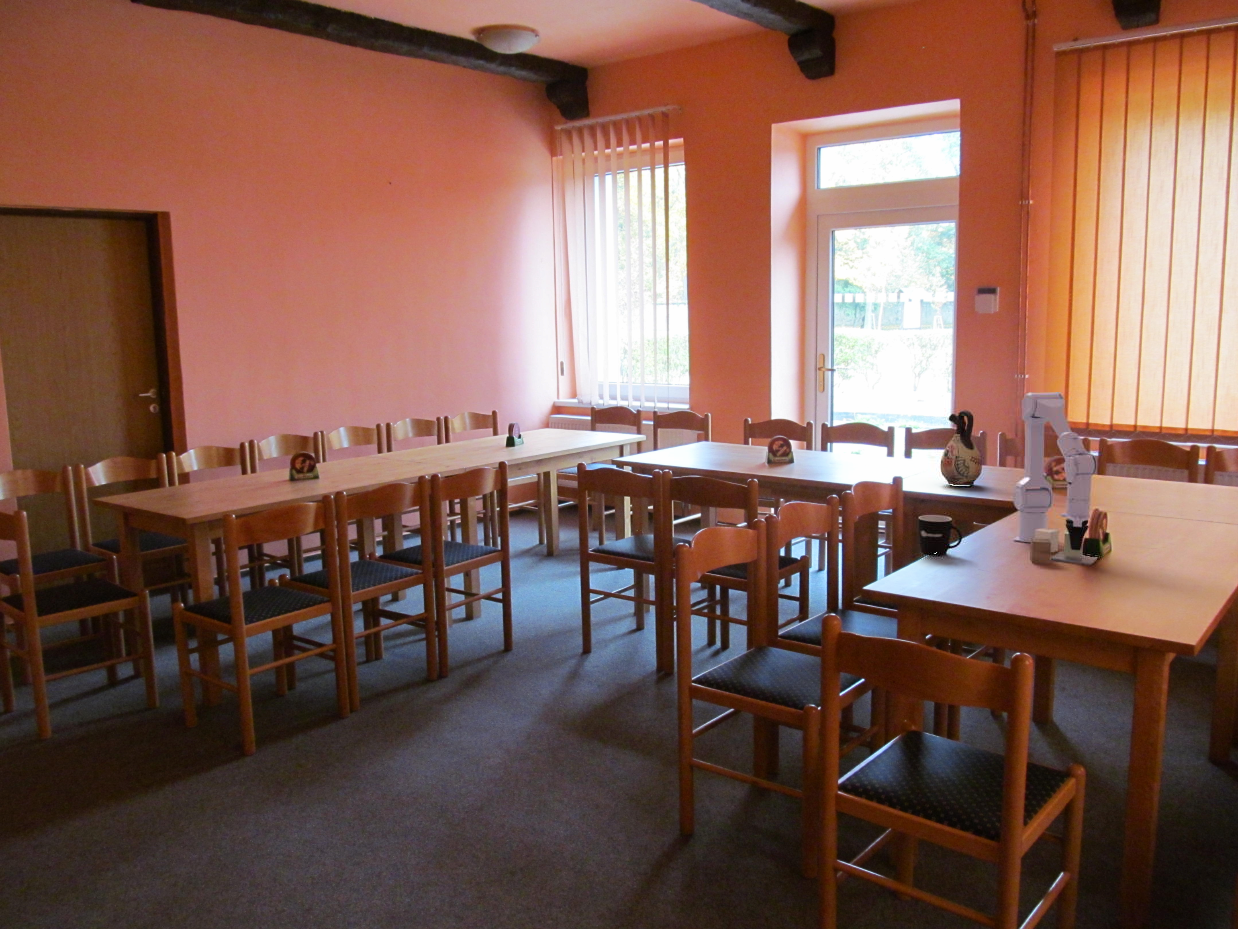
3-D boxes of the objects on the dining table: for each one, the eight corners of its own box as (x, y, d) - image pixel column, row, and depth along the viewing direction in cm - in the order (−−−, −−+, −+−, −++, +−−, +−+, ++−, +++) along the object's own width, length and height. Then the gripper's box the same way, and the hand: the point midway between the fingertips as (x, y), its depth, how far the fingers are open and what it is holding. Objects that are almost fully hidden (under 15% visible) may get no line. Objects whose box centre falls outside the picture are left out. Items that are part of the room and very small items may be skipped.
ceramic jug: (931, 483, 390) (934, 408, 385) (964, 481, 394) (967, 407, 390) (958, 490, 374) (961, 412, 369) (992, 488, 378) (995, 410, 374)
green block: (1064, 551, 271) (1064, 530, 270) (1082, 552, 269) (1082, 531, 268) (1064, 555, 267) (1064, 533, 266) (1082, 556, 265) (1083, 534, 264)
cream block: (1042, 548, 281) (1043, 527, 280) (1057, 551, 278) (1058, 530, 277) (1034, 550, 278) (1035, 529, 278) (1049, 553, 275) (1050, 532, 274)
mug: (912, 554, 275) (914, 519, 274) (922, 548, 282) (923, 513, 281) (956, 560, 268) (958, 523, 267) (965, 553, 276) (966, 518, 274)
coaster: (1060, 553, 275) (1060, 551, 275) (1099, 558, 269) (1099, 556, 269) (1050, 560, 267) (1050, 558, 267) (1090, 565, 261) (1090, 563, 261)
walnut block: (1030, 559, 269) (1031, 537, 268) (1047, 560, 267) (1049, 538, 266) (1031, 563, 264) (1032, 541, 264) (1049, 564, 263) (1051, 542, 262)
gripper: (1062, 493, 274) (1059, 540, 276) (1062, 502, 261) (1059, 552, 263) (1090, 494, 271) (1087, 543, 273) (1091, 504, 258) (1088, 554, 260)
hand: (1075, 547), depth 267 cm, fingers closed on green block, 4 cm apart
